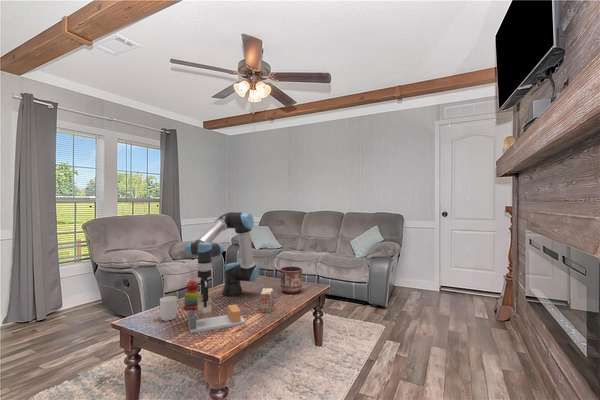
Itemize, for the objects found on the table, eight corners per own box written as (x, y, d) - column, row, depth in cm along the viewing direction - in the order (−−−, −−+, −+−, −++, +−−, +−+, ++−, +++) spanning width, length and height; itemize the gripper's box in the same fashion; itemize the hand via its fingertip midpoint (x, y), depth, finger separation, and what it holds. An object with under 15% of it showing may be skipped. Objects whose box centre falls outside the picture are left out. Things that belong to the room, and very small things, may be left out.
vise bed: (188, 323, 174) (188, 310, 175) (239, 315, 187) (239, 303, 187) (190, 333, 162) (190, 319, 162) (245, 323, 175) (245, 310, 175)
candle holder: (163, 315, 186) (163, 296, 186) (179, 315, 187) (179, 295, 187) (156, 322, 177) (157, 301, 177) (174, 321, 177) (174, 301, 178)
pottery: (275, 292, 234) (275, 269, 234) (287, 287, 249) (288, 265, 249) (294, 296, 225) (294, 272, 225) (306, 290, 240) (306, 268, 240)
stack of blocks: (264, 301, 214) (264, 284, 214) (273, 301, 214) (273, 284, 214) (260, 312, 192) (260, 293, 192) (270, 313, 192) (270, 293, 192)
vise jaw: (227, 315, 183) (227, 305, 183) (235, 314, 185) (235, 304, 185) (232, 322, 172) (232, 312, 172) (240, 321, 174) (240, 310, 174)
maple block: (197, 310, 172) (197, 295, 172) (209, 309, 175) (210, 293, 175) (198, 313, 168) (198, 297, 168) (211, 312, 171) (211, 296, 171)
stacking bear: (202, 308, 199) (202, 281, 199) (185, 311, 194) (186, 283, 194) (198, 303, 208) (198, 277, 208) (182, 306, 203) (183, 279, 203)
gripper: (195, 267, 178) (195, 306, 178) (199, 274, 162) (199, 317, 162) (208, 266, 181) (208, 305, 181) (214, 272, 165) (213, 315, 165)
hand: (204, 310), depth 171 cm, fingers closed on maple block, 5 cm apart
